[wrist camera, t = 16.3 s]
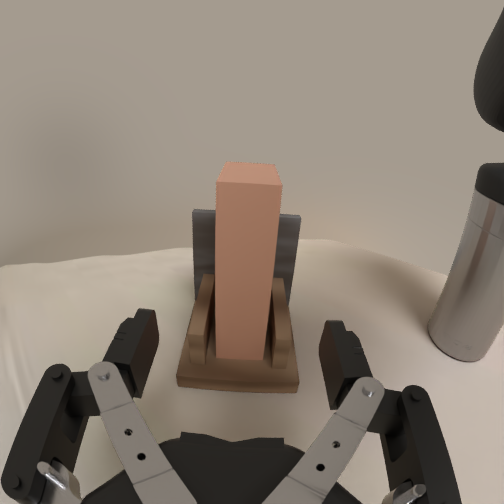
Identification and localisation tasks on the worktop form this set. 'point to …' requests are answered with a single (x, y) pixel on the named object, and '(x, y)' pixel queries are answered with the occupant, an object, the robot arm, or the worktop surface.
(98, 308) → the worktop surface
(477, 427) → the worktop surface
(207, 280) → the rack
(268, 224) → the salmon pink rectangular block
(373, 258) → the worktop surface
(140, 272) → the worktop surface
